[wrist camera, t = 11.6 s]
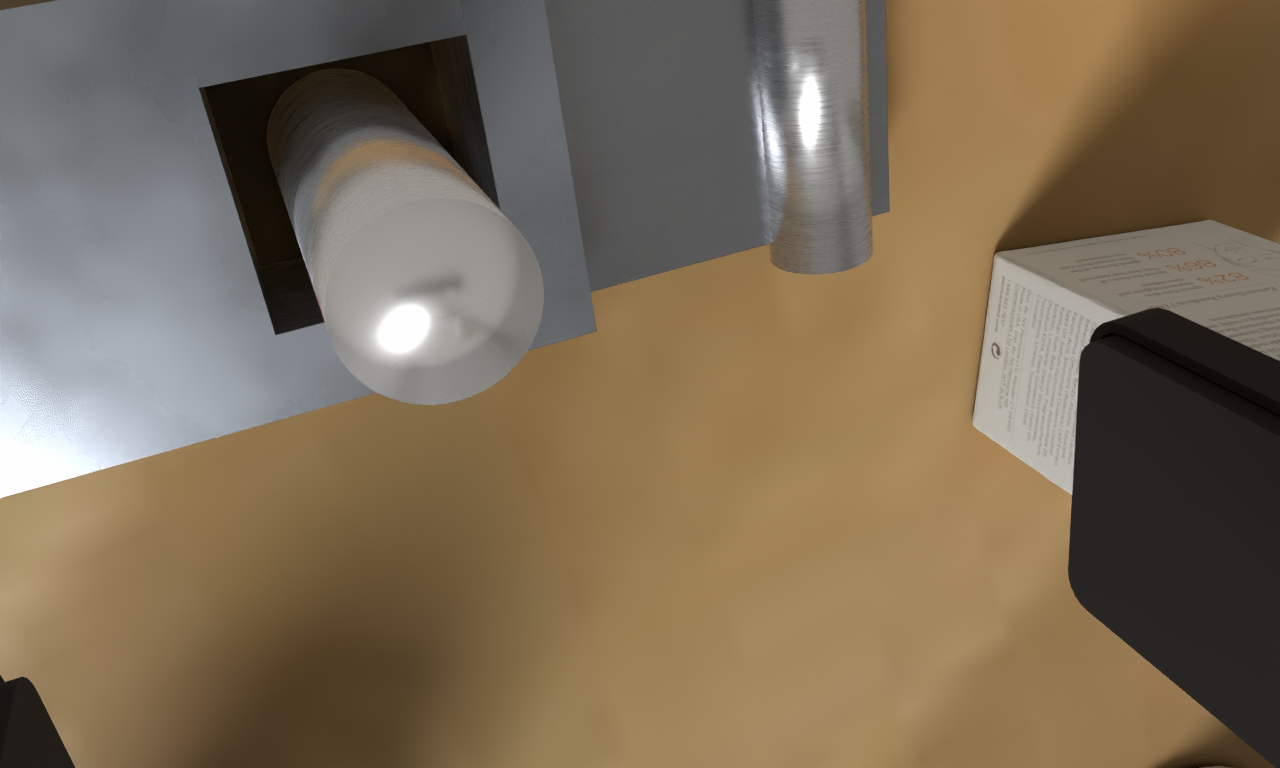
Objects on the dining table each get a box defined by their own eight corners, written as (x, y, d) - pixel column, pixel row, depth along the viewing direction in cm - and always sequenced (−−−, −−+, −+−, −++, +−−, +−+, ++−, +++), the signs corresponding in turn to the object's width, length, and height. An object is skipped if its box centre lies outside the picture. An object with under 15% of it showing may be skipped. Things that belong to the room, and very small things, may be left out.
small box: (964, 424, 34) (1250, 633, 25) (989, 245, 31) (1315, 406, 22) (1174, 382, 36) (1501, 559, 27) (1213, 214, 34) (1585, 348, 25)
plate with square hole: (832, -180, 25) (982, -184, 20) (847, 208, 29) (974, 276, 25) (-457, 30, 19) (-657, 93, 14) (-196, 484, 23) (-285, 645, 18)
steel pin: (395, 55, 24) (523, 175, 15) (426, 191, 25) (559, 371, 17) (248, 84, 23) (298, 228, 14) (289, 224, 24) (355, 430, 16)
